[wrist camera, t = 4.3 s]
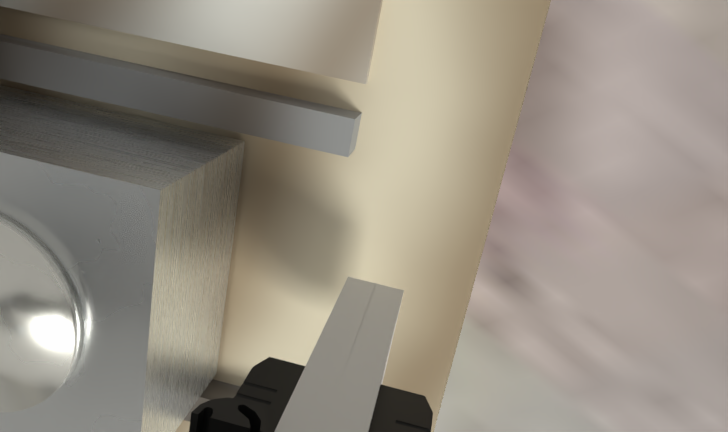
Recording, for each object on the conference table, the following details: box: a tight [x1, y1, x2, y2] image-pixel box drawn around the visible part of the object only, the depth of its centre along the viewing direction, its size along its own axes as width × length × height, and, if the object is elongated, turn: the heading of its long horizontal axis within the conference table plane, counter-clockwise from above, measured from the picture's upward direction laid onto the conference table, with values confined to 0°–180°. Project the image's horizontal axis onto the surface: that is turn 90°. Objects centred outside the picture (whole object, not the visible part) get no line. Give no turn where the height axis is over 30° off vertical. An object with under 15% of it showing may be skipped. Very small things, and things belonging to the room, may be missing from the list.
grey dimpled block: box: [0, 85, 245, 432], centre depth 16 cm, size 8×13×5 cm, turn 169°
